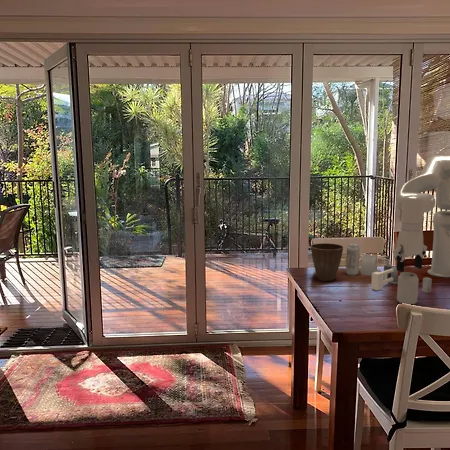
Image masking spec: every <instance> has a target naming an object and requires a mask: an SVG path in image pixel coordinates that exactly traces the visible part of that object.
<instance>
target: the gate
mask: <svg viewBox="0 0 450 450" xmlns="http://www.w3.org/2000/svg"><path fill="white" fill-rule="evenodd" d="M398 272H399V271H398V270H397V266H394V267H391V269H389V270H386V271H384V270H383V271H381V272H380V271H377V272H374V273H372V276H371V284H370V285H371V286H370V287H371V288H370V289H371V290H374V291H380V290H382V289H383V285H384V284H387V283H389V282H390V281H398ZM388 273H391V278H388V279H387V274H388ZM383 275H384V280H383Z"/></svg>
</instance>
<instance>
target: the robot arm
mask: <svg viewBox="0 0 450 450" xmlns="http://www.w3.org/2000/svg"><path fill="white" fill-rule="evenodd" d="M434 189H435V196H434V195H433V194H430V193H427V192H429V191H432V190H434ZM425 192H426V193H425ZM395 205H396V208H397V209H398V210H399V211H401V226H400V230H399V232H398V236H397V241H396V248H395V249H394V250H392V254H393V258H394V259H395V261H396V267H397V270H398V272H400V273H402V272H404V271H405V259H406V258H407V257H414V256H415V257H414V265H413V266H414V268H418V269H422V268H423V259H424V256H425V255H426V252H427V250H428V246H427V245H425V244H424V233H423V232H424V231H423V221H424V213H429V212H432V211H433V209H434V208H435V207H437V208H438V209H439V211H436V212H435V213H434V214H433V217H432V225H433V226H432V227H433V241H432V253H431V255H432V256H431V265H430V266H431V268H430V269H427V274H429V275H431V276H433V277H439V278H450V154H436V155H431V156H430V157H428V159H426V162H425V163H424V166H423V168H422V170H421V172H420V175H418V176H416V177H414V178H412V179H409V180H408V181H406V182H405V183H404V184H403V185H402V187H401V188H400V189H399V192H398V193H397V196H396V201H395Z"/></svg>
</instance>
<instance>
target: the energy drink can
mask: <svg viewBox="0 0 450 450" xmlns="http://www.w3.org/2000/svg"><path fill="white" fill-rule="evenodd" d="M360 252H361V251H360V246H359V244H358V243H349V244H348V245H347V247H346V260H345V261H346V262H345V264H346V265H345V273H346V275H347V276H357V275H358V274H359V273H360V272H359V270H360Z"/></svg>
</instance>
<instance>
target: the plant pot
mask: <svg viewBox="0 0 450 450" xmlns="http://www.w3.org/2000/svg"><path fill="white" fill-rule="evenodd" d="M310 250H311V251H310V252H311V257H312V263H313V267H314V270H315V273H316V276H317V279H318V280H319V281H324V282H331V281H334V280H335V278H336V276H337V274H338V271H339V268H340V264H341V260H342V256H343V250H344V246H343V245H341V244H337V243H328V242H327V243H326V242H324V243H314V244H311V245H310Z"/></svg>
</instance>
